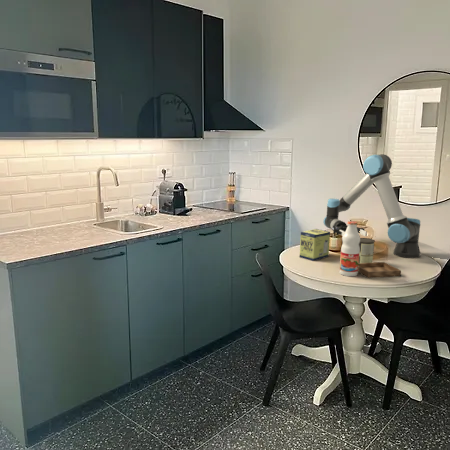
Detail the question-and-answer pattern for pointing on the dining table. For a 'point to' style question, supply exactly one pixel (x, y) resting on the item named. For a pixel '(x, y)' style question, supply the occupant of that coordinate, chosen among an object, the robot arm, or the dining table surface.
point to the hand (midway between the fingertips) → (355, 234)
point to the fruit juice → (350, 250)
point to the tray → (378, 270)
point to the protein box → (314, 244)
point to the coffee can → (366, 250)
